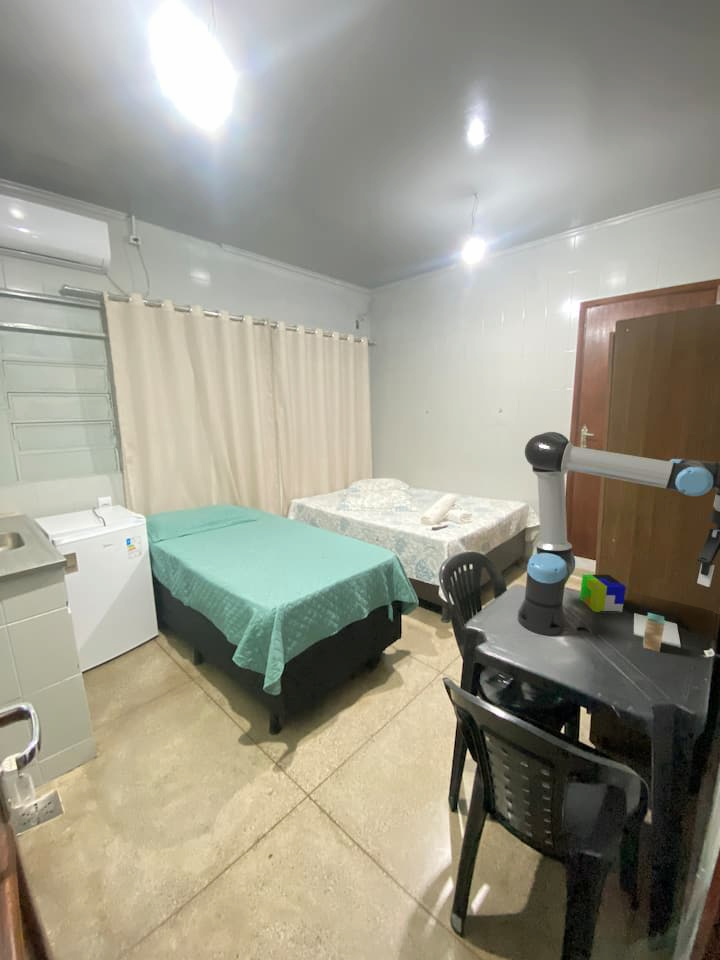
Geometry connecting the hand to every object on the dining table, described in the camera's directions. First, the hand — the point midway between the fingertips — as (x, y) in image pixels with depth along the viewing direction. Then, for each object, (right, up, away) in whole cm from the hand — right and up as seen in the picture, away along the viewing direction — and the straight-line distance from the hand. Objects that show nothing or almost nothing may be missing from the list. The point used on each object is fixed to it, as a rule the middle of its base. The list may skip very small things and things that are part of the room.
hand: (715, 580), depth 116 cm
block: (-14, -23, +7) cm, 27 cm away
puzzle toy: (-14, -18, +32) cm, 39 cm away
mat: (-6, -21, +16) cm, 27 cm away
